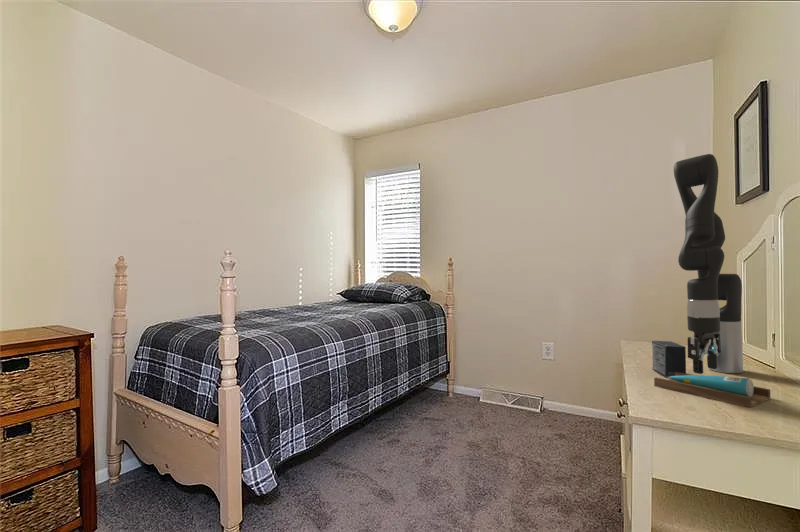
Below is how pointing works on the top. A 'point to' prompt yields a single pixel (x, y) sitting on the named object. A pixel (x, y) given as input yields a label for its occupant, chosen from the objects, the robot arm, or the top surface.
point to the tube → (719, 383)
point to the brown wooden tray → (714, 392)
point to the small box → (668, 358)
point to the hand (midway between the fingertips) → (705, 370)
